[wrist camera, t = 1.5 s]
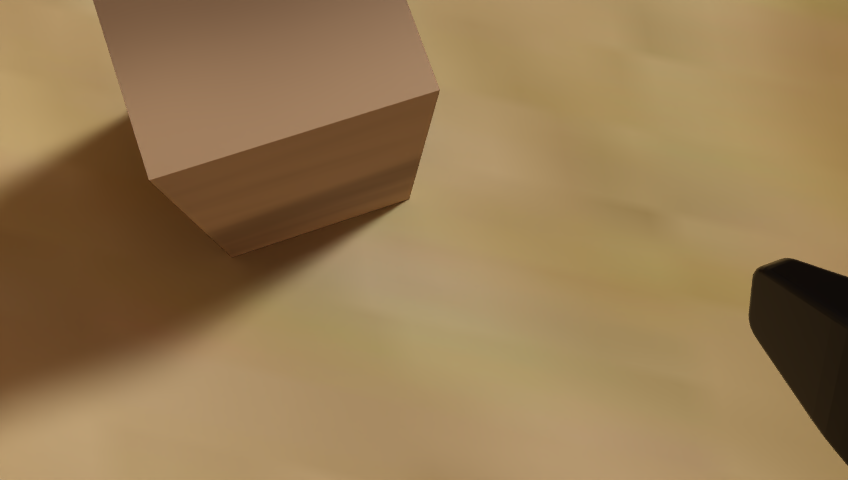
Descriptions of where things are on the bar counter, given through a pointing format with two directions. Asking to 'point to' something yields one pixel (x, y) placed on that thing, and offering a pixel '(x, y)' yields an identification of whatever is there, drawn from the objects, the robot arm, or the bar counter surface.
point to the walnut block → (273, 108)
